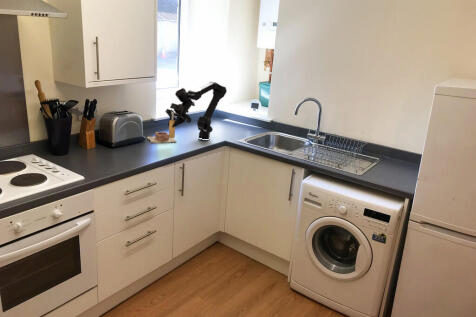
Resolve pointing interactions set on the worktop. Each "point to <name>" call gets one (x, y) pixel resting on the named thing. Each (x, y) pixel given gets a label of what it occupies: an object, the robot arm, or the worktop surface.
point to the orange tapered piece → (171, 128)
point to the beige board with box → (161, 138)
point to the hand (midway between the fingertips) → (170, 126)
